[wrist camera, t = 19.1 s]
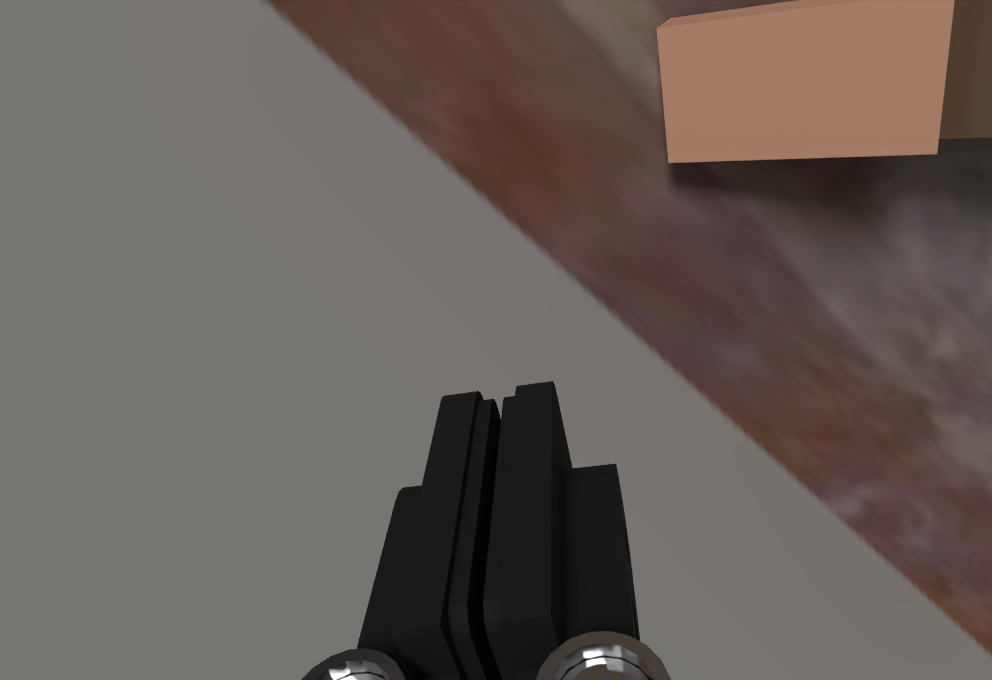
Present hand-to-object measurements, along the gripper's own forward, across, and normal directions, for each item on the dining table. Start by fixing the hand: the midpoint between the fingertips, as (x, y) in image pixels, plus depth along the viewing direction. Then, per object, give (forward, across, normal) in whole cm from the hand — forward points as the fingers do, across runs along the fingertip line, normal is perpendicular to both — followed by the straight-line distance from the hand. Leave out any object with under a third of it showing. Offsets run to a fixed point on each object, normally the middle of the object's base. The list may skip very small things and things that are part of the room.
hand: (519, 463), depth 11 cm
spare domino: (+20, -5, 0) cm, 21 cm away
